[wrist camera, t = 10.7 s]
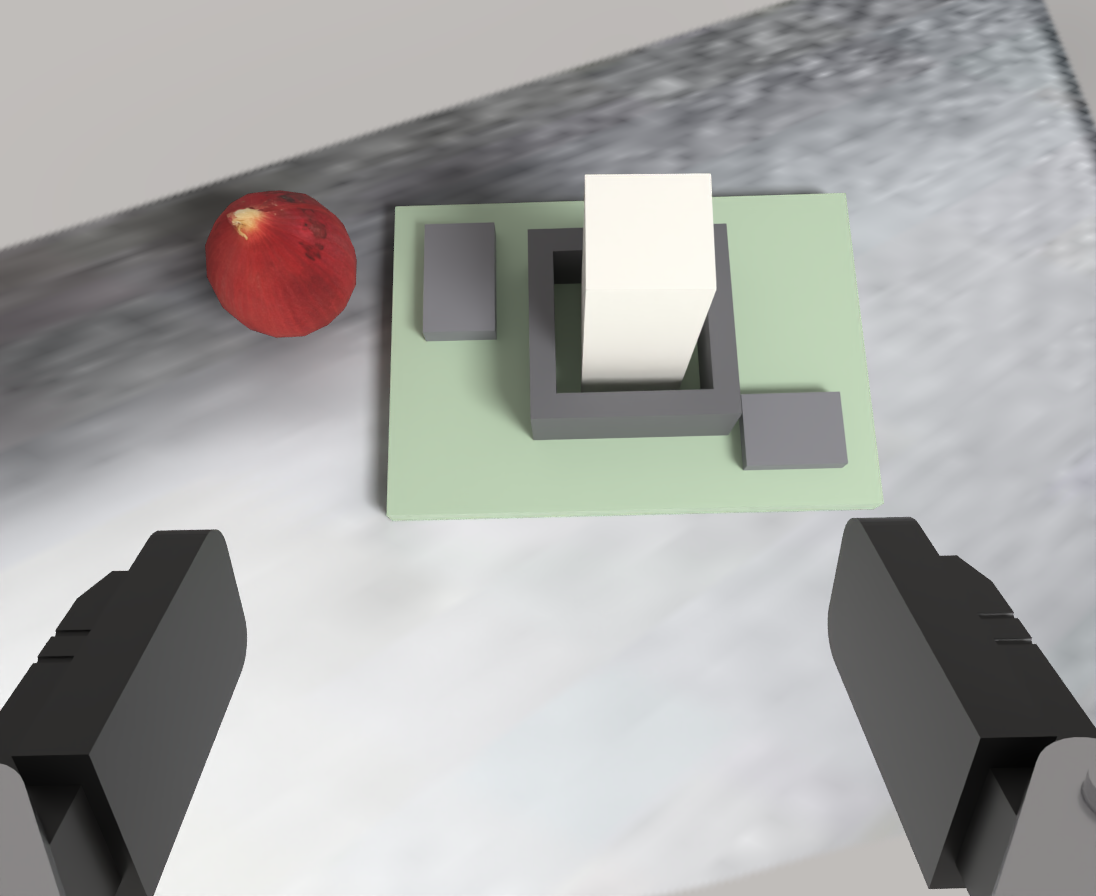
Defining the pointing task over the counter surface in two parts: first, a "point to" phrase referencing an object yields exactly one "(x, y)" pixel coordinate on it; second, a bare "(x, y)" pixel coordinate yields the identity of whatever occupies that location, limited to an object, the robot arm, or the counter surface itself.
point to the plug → (644, 278)
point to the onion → (281, 263)
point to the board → (631, 416)
